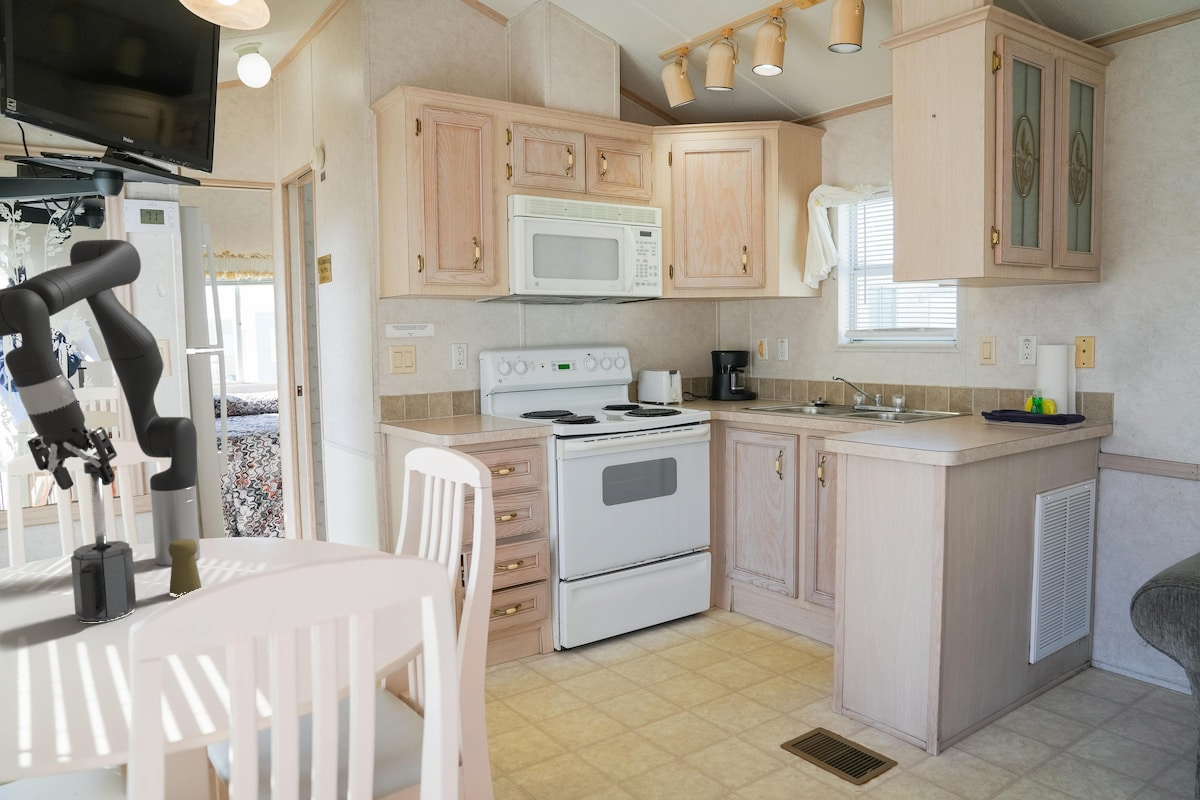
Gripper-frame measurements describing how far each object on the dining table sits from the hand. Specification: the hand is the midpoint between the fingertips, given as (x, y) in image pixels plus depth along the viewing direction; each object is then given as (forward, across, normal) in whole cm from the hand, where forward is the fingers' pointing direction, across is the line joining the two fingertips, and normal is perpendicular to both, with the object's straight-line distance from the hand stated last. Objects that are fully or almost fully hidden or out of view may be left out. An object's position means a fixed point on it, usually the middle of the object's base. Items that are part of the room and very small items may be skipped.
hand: (88, 485), depth 148 cm
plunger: (+18, +5, +1) cm, 18 cm away
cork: (+31, -2, -9) cm, 32 cm away
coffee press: (+25, +5, +4) cm, 26 cm away
